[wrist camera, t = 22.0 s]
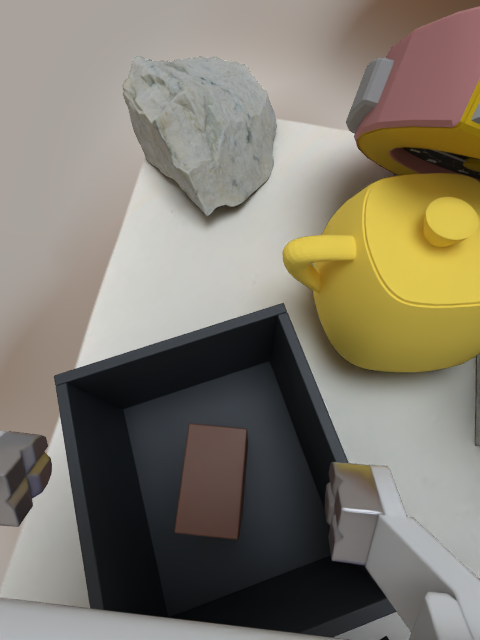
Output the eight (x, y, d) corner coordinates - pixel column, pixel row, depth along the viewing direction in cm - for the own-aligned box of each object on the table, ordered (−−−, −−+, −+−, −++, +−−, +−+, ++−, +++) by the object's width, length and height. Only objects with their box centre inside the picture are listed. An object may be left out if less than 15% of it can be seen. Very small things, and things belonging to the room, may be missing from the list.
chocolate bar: (248, 441, 29) (247, 428, 20) (242, 515, 27) (238, 540, 18) (208, 437, 29) (188, 423, 20) (200, 511, 27) (173, 533, 18)
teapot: (534, 376, 30) (708, 319, 19) (280, 387, 31) (298, 338, 19) (488, 231, 35) (604, 115, 24) (269, 242, 36) (277, 132, 24)
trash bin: (349, 556, 27) (407, 607, 17) (163, 627, 25) (108, 728, 16) (273, 354, 32) (283, 302, 22) (117, 405, 31) (53, 375, 21)
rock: (317, 129, 40) (328, 53, 33) (219, 235, 36) (206, 177, 29) (207, 70, 44) (194, -10, 37) (108, 160, 41) (72, 92, 33)
